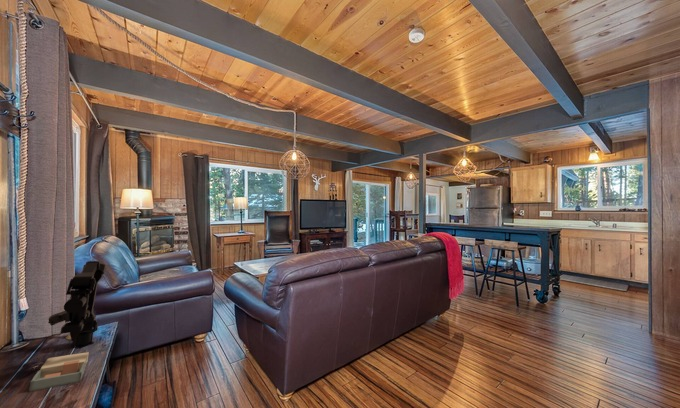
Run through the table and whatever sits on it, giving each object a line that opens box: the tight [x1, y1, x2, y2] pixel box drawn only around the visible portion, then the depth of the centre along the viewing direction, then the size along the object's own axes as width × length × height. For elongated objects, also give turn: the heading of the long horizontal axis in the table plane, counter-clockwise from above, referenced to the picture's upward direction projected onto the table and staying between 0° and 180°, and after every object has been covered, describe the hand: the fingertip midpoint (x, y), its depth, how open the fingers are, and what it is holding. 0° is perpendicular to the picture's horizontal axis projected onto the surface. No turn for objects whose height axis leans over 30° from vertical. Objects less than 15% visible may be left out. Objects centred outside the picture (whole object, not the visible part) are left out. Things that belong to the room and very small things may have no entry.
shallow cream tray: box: [39, 351, 90, 378], centre depth 113 cm, size 9×13×4 cm
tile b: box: [44, 372, 61, 378], centre depth 104 cm, size 4×4×2 cm
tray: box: [28, 363, 87, 393], centre depth 106 cm, size 8×14×4 cm, turn 125°
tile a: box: [62, 360, 79, 375], centre depth 110 cm, size 4×4×2 cm
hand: (73, 340), depth 115 cm, fingers closed
